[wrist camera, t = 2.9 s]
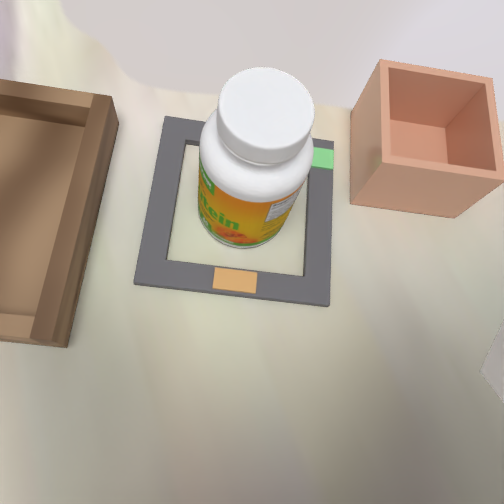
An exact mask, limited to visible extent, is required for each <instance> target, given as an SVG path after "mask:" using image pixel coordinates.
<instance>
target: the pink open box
mask: <svg viewBox="0 0 504 504" xmlns="http://www.w3.org/2000/svg"><path fill="white" fill-rule="evenodd" d="M502 183H504V161H503V153H502V146H501V139H500V131H499V124H498V117H497V109H496V102H495V94H494V87H493V80H492V78H488V77H482V76H476V75H471V74H465V73H459V72H453V71H447V70H441V69H435V68H429V67H424V66H418V65H412V64H406V63H400V62H394V61H388V60H382V59H380V60H379V62H378V64H377V65H376V67H375V69H374V71H373V73H372V75H371V77H370V78H369V81H368V82H367V84H366V86H365V88H364V90H363V92H362V93H361V95H360V97H359V99H358V101H357V103H356V105H355V107H354V108H353V110H352V112H351V155H350V204H355V205H362V206H369V207H376V208H384V209H391V210H398V211H405V212H412V213H420V214H427V215H434V216H441V217H448V218H455V217H457V216H458V215H460V214H461V213H462V212H464V211H465V210H466V209H468V208H469V207H471V206H472V205H473V204H475V203H476V202H477V201H479V200H480V199H482V198H483V197H484V196H486V195H487V194H488V193H490V192H491V191H493V190H494V189H495V188H497V187H498V186H499V185H501V184H502Z"/></svg>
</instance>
